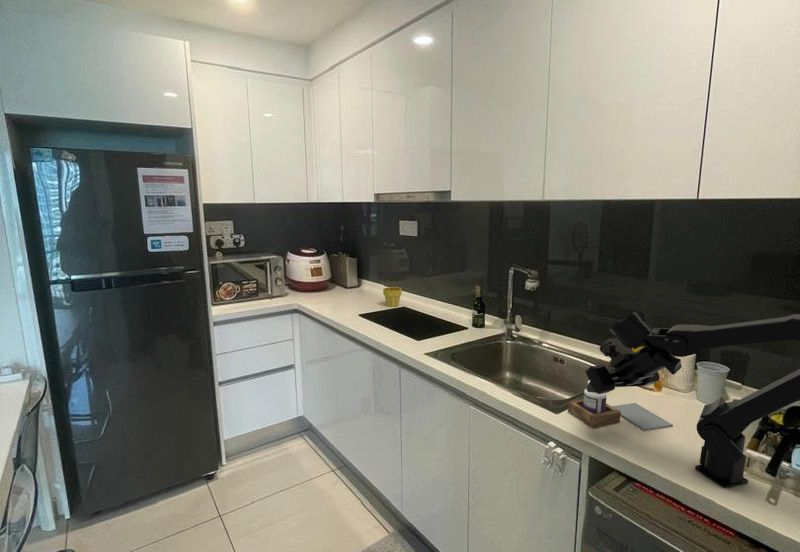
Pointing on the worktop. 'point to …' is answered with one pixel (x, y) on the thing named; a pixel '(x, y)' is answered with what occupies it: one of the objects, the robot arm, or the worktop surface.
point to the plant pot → (392, 296)
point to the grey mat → (641, 417)
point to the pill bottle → (594, 402)
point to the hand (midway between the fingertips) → (601, 387)
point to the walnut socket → (592, 419)
